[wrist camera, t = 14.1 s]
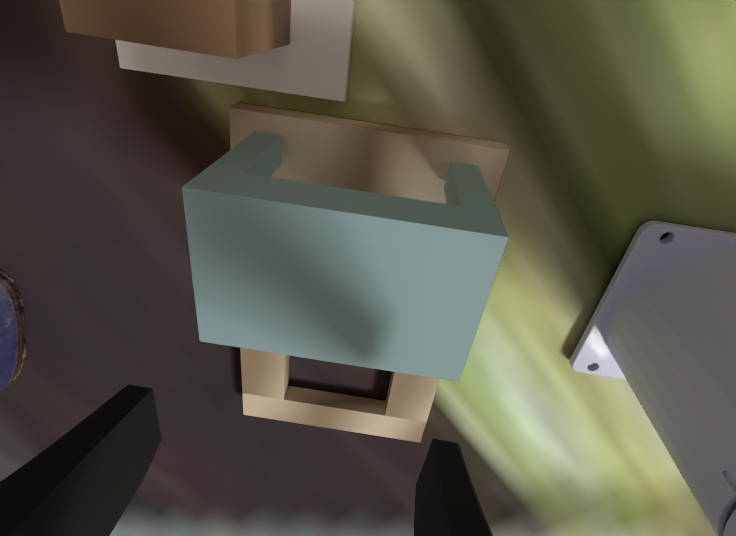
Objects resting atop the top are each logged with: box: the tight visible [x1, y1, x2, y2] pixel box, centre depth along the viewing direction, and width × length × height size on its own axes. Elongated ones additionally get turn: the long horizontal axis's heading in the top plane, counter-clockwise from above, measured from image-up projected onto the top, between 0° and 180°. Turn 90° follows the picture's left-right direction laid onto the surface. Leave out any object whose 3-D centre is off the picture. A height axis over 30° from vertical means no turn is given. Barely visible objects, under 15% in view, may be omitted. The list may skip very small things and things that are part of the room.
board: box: [229, 103, 510, 442], centre depth 20 cm, size 10×16×1 cm, turn 173°
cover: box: [182, 132, 509, 382], centre depth 14 cm, size 8×5×6 cm, turn 83°
